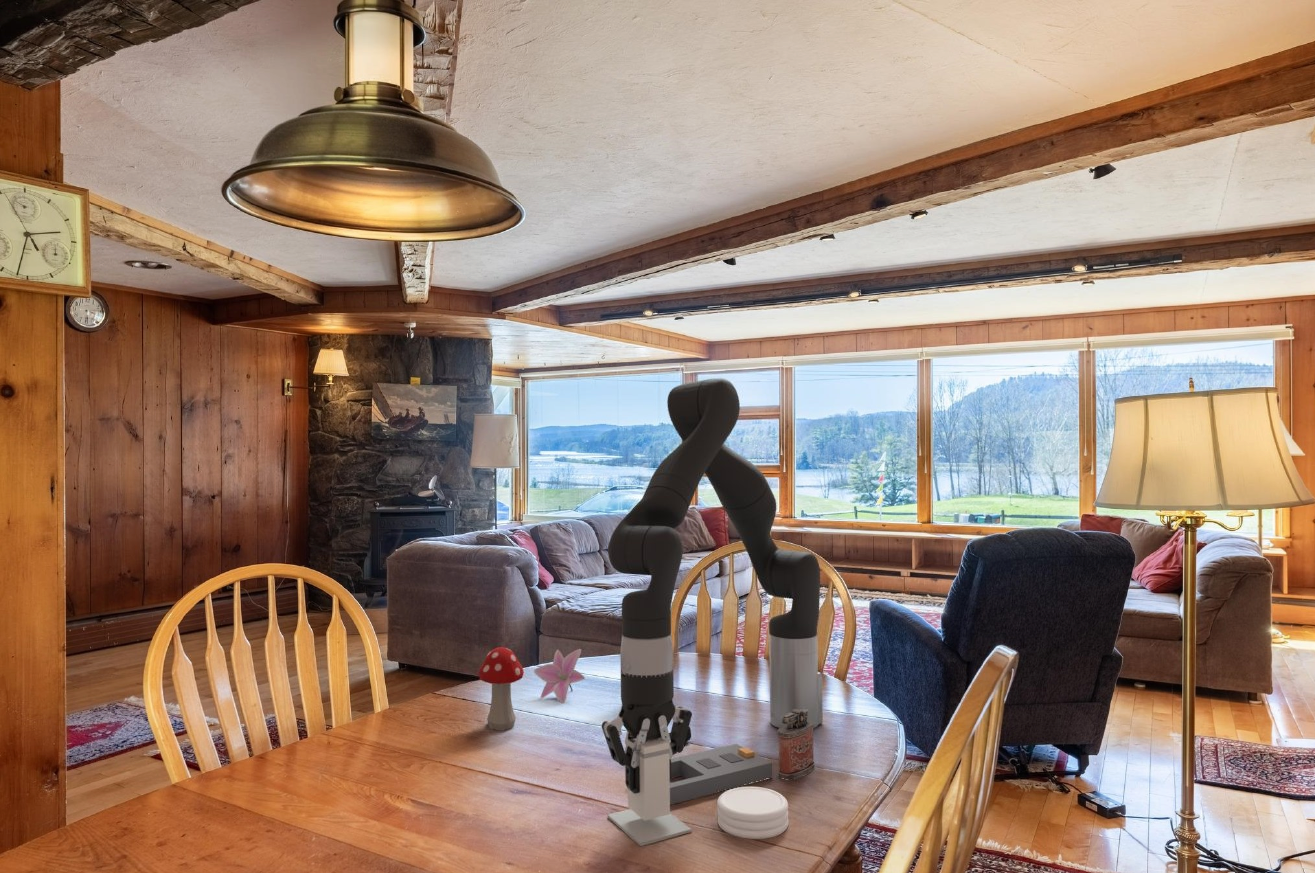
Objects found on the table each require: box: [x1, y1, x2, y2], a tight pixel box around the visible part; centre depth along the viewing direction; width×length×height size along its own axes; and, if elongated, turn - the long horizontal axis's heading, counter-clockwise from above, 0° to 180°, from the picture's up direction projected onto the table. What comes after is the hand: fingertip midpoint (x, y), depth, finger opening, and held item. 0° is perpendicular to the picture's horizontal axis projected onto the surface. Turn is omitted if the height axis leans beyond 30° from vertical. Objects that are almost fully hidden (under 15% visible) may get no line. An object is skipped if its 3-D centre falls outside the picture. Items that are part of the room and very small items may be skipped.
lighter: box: [777, 709, 816, 781], centre depth 133 cm, size 8×3×10 cm, turn 134°
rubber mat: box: [607, 808, 692, 847], centre depth 114 cm, size 8×10×1 cm
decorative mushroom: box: [478, 646, 525, 731], centre depth 158 cm, size 10×9×15 cm
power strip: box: [670, 743, 773, 806], centre depth 130 cm, size 20×10×3 cm, turn 120°
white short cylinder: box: [716, 786, 789, 840], centre depth 115 cm, size 10×10×4 cm
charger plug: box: [627, 738, 671, 821], centre depth 115 cm, size 4×5×10 cm
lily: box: [533, 648, 586, 704], centre depth 177 cm, size 12×12×10 cm
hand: (648, 787), depth 115 cm, fingers closed on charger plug, 4 cm apart
